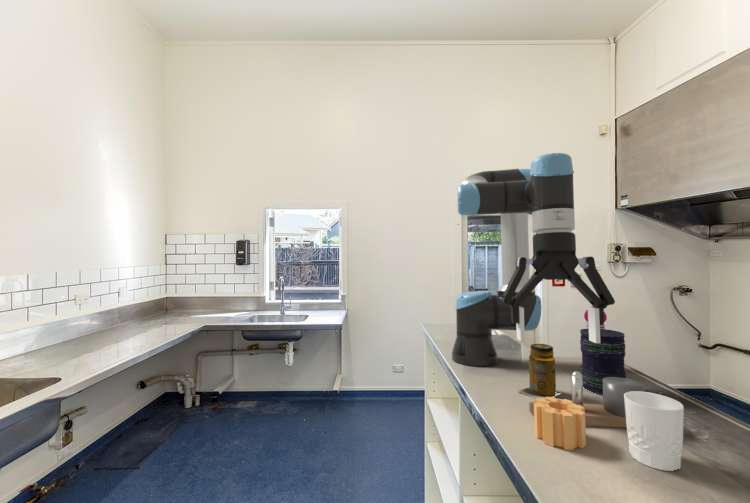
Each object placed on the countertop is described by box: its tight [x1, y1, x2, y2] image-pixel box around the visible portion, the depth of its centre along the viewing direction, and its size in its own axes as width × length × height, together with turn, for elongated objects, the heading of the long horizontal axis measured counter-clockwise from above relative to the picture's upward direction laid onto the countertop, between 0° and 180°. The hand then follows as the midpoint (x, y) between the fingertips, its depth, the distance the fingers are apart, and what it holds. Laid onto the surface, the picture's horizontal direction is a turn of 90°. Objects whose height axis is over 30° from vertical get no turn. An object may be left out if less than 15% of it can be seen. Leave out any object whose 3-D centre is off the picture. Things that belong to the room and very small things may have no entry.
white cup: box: [624, 391, 685, 472], centre depth 57 cm, size 8×8×10 cm
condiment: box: [517, 343, 558, 399], centre depth 87 cm, size 7×8×12 cm
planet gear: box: [533, 397, 587, 451], centre depth 65 cm, size 9×9×6 cm
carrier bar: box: [528, 401, 627, 429], centre depth 72 cm, size 6×22×2 cm, turn 82°
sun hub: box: [602, 377, 645, 418], centre depth 71 cm, size 7×7×6 cm
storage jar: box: [579, 328, 627, 397], centre depth 88 cm, size 10×10×15 cm
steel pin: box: [571, 370, 584, 407], centre depth 72 cm, size 2×2×8 cm
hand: (557, 341), depth 66 cm, fingers open, 13 cm apart
